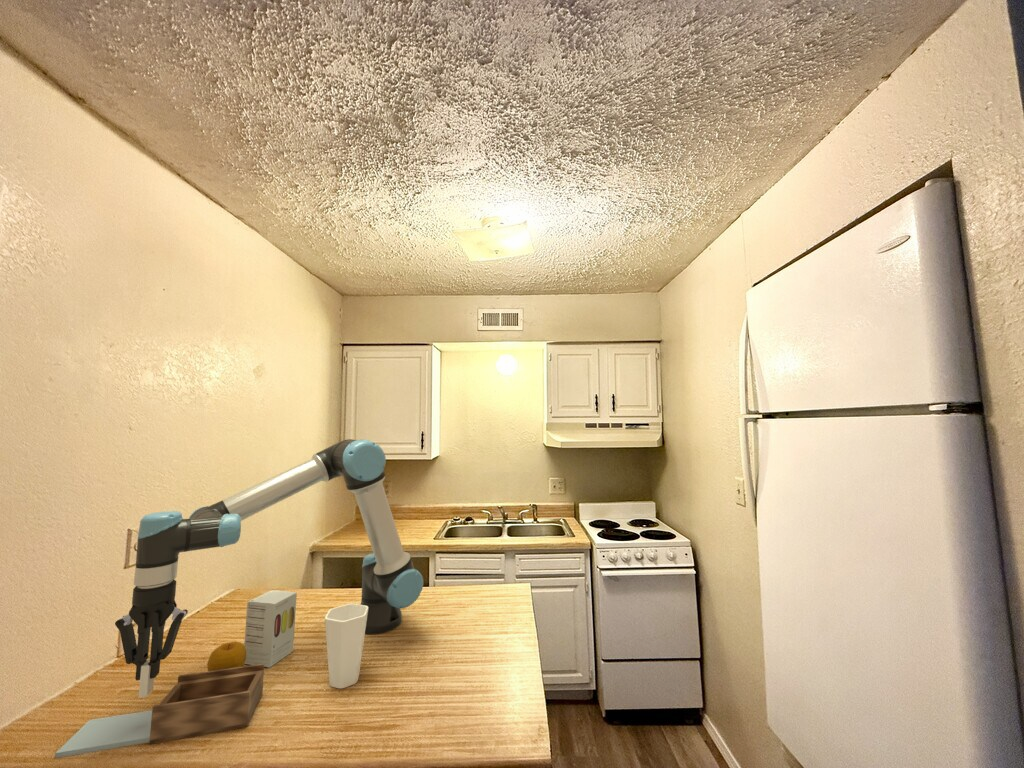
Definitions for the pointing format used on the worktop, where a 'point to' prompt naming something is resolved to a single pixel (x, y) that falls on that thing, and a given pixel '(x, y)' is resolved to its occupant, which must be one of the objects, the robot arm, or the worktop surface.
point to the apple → (227, 656)
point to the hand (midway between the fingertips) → (145, 693)
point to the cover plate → (109, 734)
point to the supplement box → (270, 627)
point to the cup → (345, 643)
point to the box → (208, 703)
